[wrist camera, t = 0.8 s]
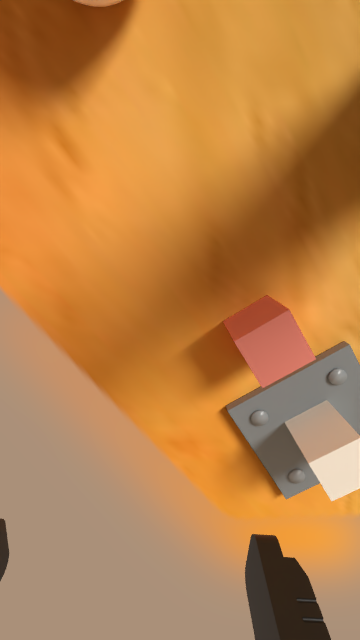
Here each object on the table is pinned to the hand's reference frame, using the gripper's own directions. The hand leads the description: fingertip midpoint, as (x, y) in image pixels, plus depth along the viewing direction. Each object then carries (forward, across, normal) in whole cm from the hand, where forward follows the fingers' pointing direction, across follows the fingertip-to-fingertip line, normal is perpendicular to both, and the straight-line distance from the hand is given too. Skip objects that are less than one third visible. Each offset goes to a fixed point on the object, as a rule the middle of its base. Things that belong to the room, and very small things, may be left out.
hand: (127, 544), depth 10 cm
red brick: (+21, -9, -1) cm, 23 cm away
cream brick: (+20, -17, +9) cm, 28 cm away
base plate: (+21, -17, +10) cm, 29 cm away
